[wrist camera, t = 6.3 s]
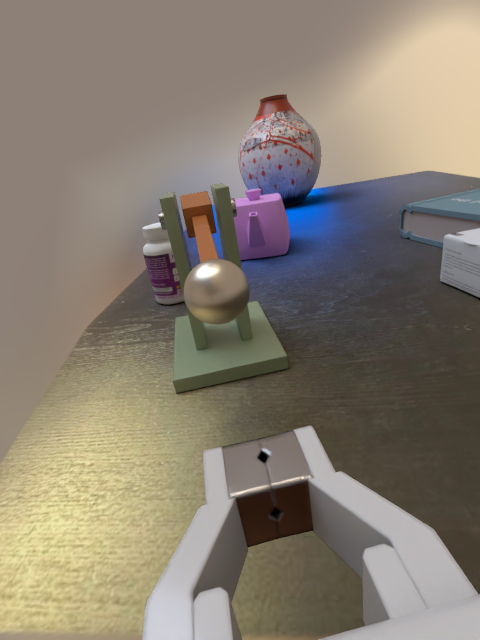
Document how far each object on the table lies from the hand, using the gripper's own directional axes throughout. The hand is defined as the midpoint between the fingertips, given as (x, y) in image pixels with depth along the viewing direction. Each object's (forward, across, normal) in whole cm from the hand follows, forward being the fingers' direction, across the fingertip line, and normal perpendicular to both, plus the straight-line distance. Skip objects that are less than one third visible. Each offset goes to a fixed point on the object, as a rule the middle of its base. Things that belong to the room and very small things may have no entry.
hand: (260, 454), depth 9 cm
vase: (+100, -27, +8) cm, 104 cm away
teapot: (+53, -10, +8) cm, 54 cm away
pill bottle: (+37, +5, +8) cm, 39 cm away
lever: (+17, 0, -1) cm, 17 cm away
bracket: (+22, 0, +8) cm, 23 cm away
